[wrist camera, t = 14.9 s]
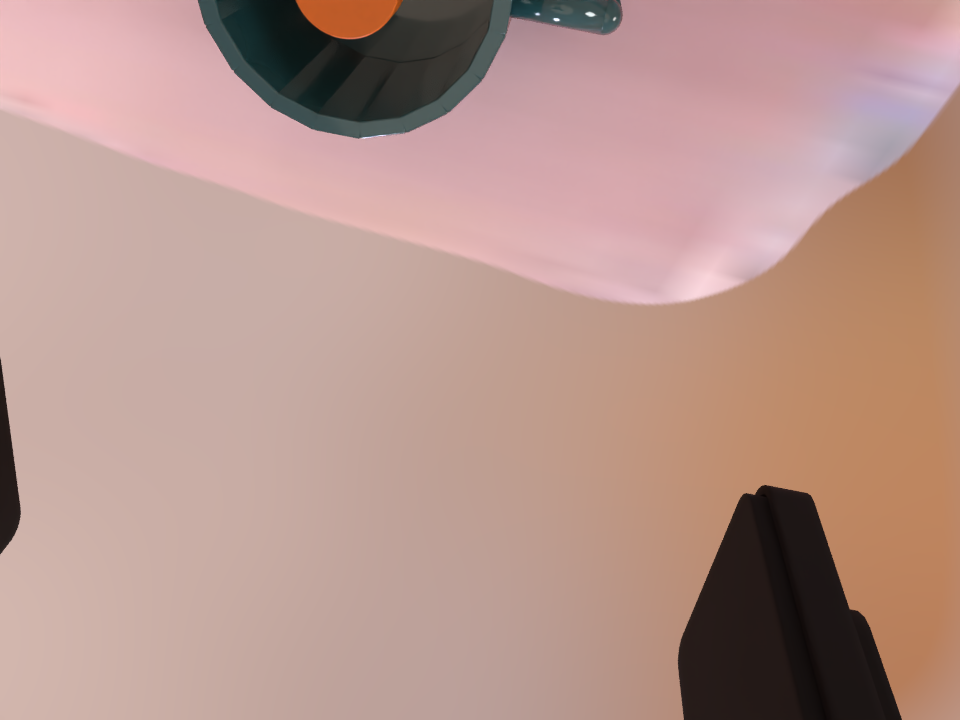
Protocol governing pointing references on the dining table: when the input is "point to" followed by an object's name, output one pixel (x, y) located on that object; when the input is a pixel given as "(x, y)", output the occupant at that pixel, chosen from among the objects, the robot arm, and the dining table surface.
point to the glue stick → (349, 16)
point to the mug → (380, 57)
